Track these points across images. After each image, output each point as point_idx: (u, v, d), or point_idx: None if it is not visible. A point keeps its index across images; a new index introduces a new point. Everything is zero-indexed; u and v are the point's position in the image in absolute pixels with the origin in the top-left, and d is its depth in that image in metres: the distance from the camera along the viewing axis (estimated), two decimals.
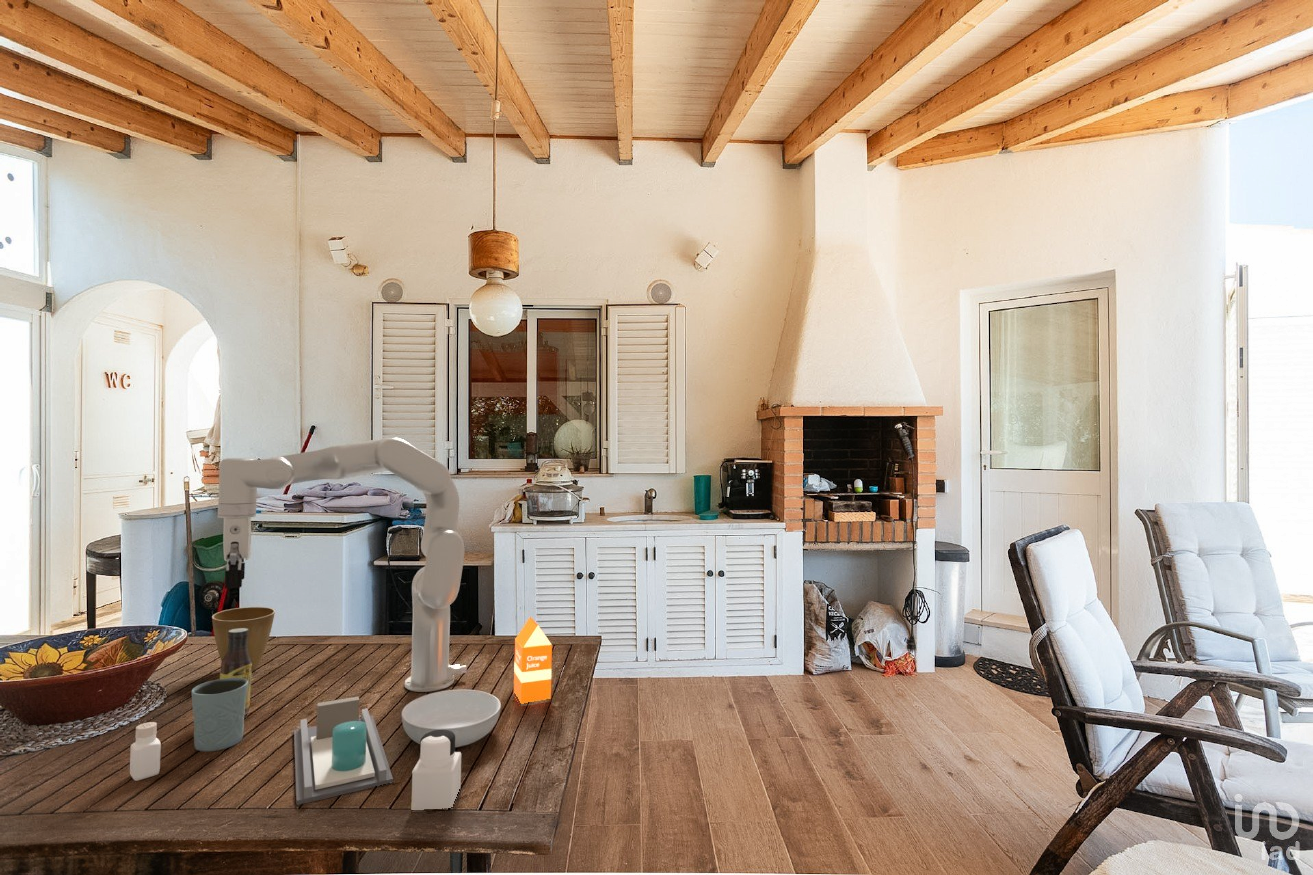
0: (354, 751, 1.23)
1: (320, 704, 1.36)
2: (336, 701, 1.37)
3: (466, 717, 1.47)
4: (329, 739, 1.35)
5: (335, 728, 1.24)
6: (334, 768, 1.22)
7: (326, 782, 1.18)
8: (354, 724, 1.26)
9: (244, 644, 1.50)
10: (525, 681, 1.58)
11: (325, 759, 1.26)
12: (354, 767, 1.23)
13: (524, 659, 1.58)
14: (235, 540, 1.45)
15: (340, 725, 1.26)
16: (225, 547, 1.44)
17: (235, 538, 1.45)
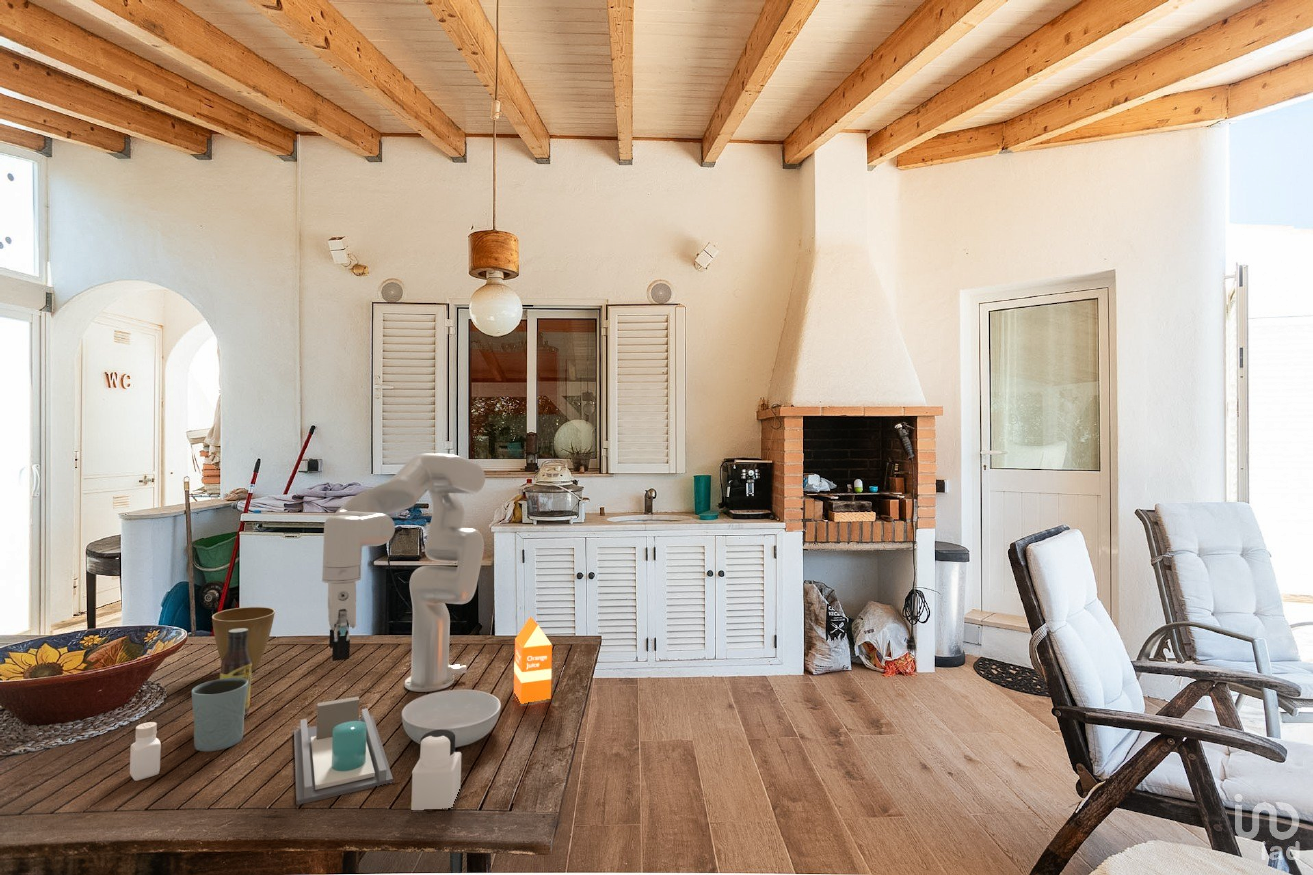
0: (354, 751, 1.23)
1: (320, 704, 1.36)
2: (336, 701, 1.37)
3: (466, 717, 1.47)
4: (329, 739, 1.35)
5: (335, 728, 1.24)
6: (334, 768, 1.22)
7: (326, 782, 1.18)
8: (354, 724, 1.26)
9: (244, 644, 1.50)
10: (525, 681, 1.58)
11: (325, 759, 1.26)
12: (354, 767, 1.23)
13: (525, 659, 1.58)
14: (343, 607, 1.33)
15: (340, 725, 1.26)
16: (333, 615, 1.32)
17: (343, 605, 1.33)
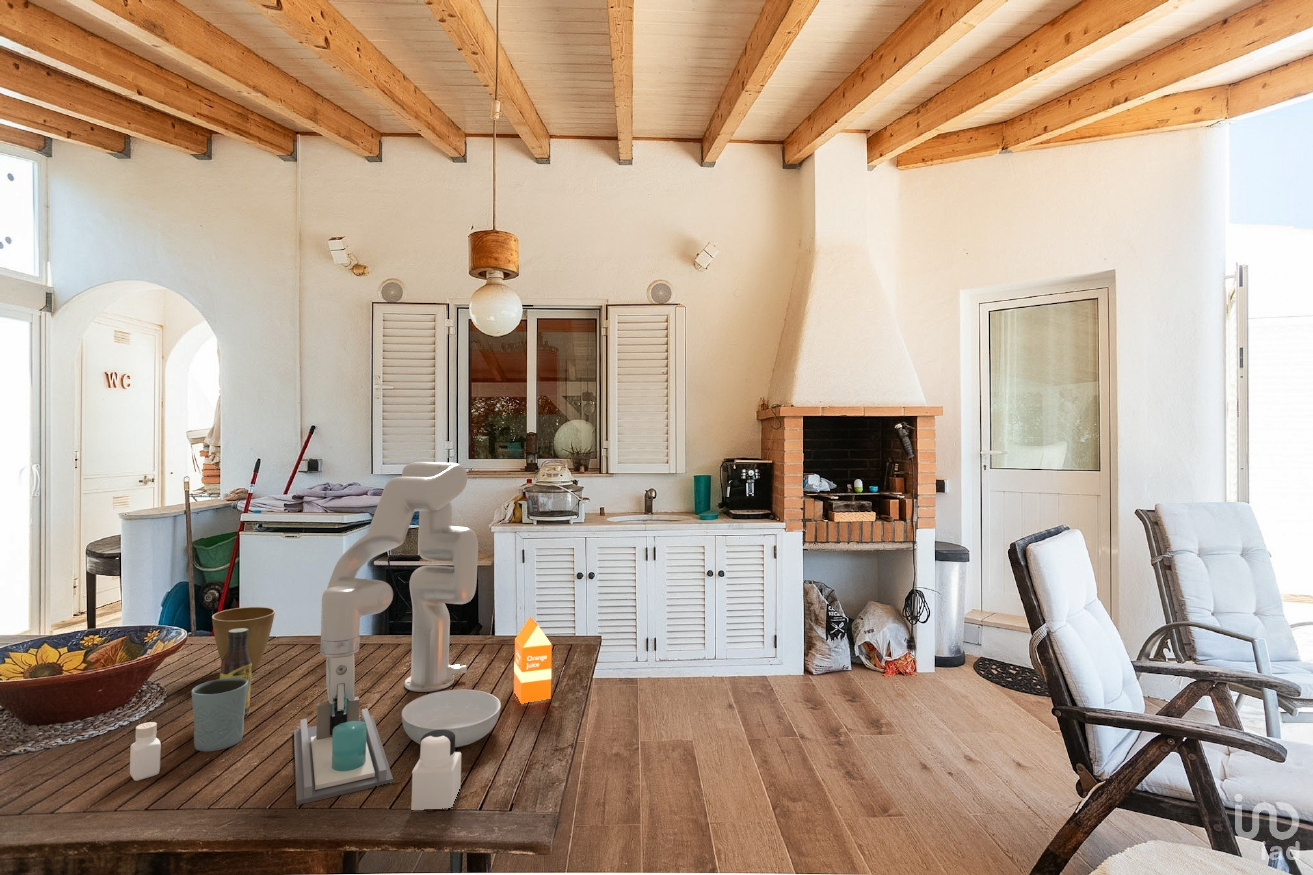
0: (354, 751, 1.23)
1: (320, 704, 1.36)
2: None
3: (466, 717, 1.47)
4: (329, 739, 1.35)
5: (335, 728, 1.24)
6: (334, 768, 1.22)
7: (326, 782, 1.18)
8: (354, 724, 1.26)
9: (244, 644, 1.50)
10: (525, 681, 1.58)
11: (325, 759, 1.26)
12: (354, 767, 1.23)
13: (524, 659, 1.58)
14: (341, 681, 1.33)
15: (340, 725, 1.26)
16: (331, 690, 1.32)
17: (341, 679, 1.33)
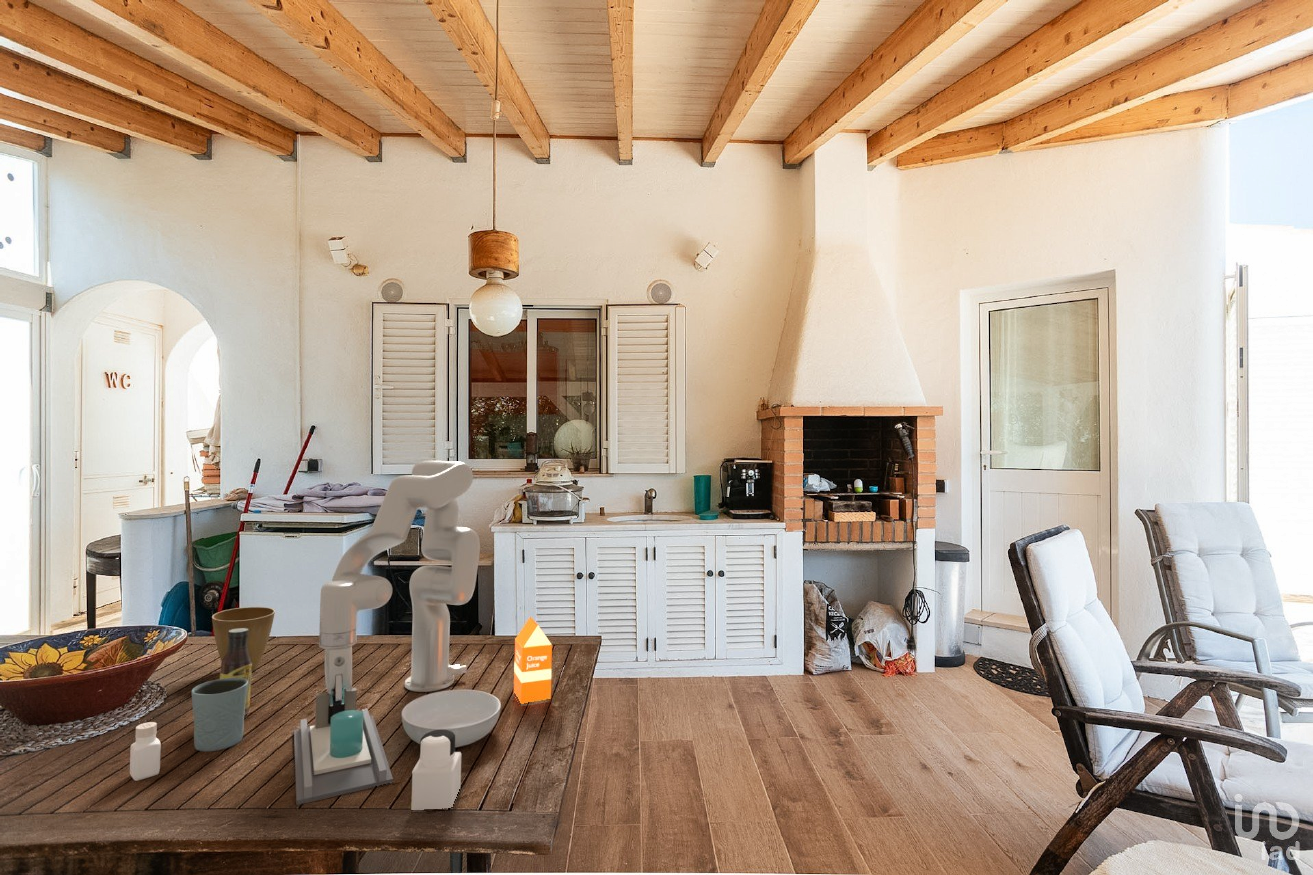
0: (351, 738, 1.28)
1: (319, 694, 1.41)
2: None
3: (466, 717, 1.47)
4: (327, 728, 1.40)
5: (333, 717, 1.29)
6: (332, 755, 1.27)
7: (324, 767, 1.23)
8: (352, 712, 1.32)
9: (244, 644, 1.50)
10: (525, 681, 1.58)
11: (323, 747, 1.31)
12: (351, 754, 1.28)
13: (524, 659, 1.58)
14: (340, 672, 1.38)
15: (338, 714, 1.31)
16: (329, 680, 1.37)
17: (339, 670, 1.38)
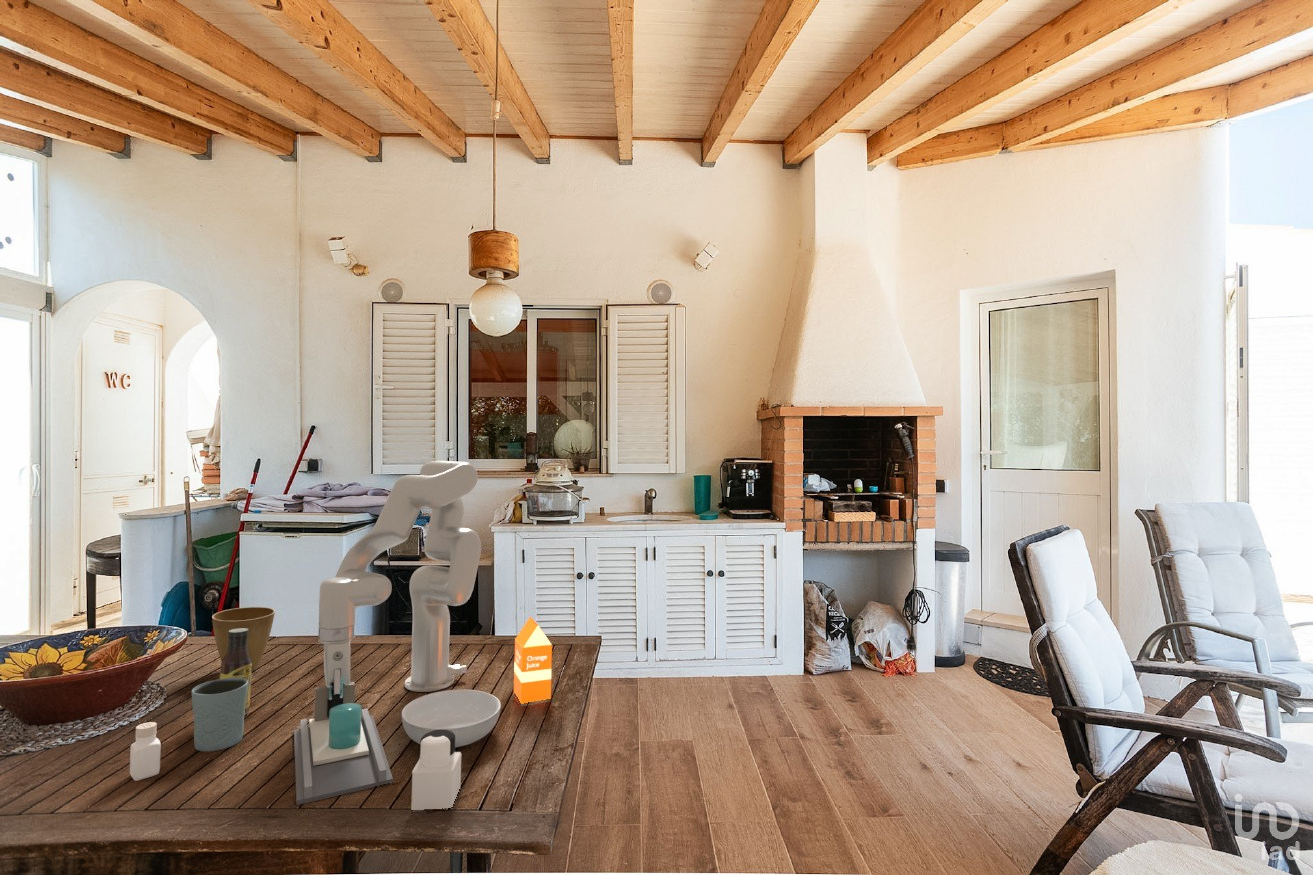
0: (349, 730, 1.31)
1: (318, 688, 1.44)
2: None
3: (466, 717, 1.47)
4: (326, 721, 1.43)
5: (332, 709, 1.33)
6: (331, 746, 1.31)
7: (323, 758, 1.26)
8: (350, 705, 1.35)
9: (244, 644, 1.50)
10: (525, 681, 1.58)
11: (322, 739, 1.35)
12: (349, 745, 1.31)
13: (524, 659, 1.58)
14: (338, 666, 1.42)
15: (336, 707, 1.34)
16: (328, 675, 1.41)
17: (338, 665, 1.42)
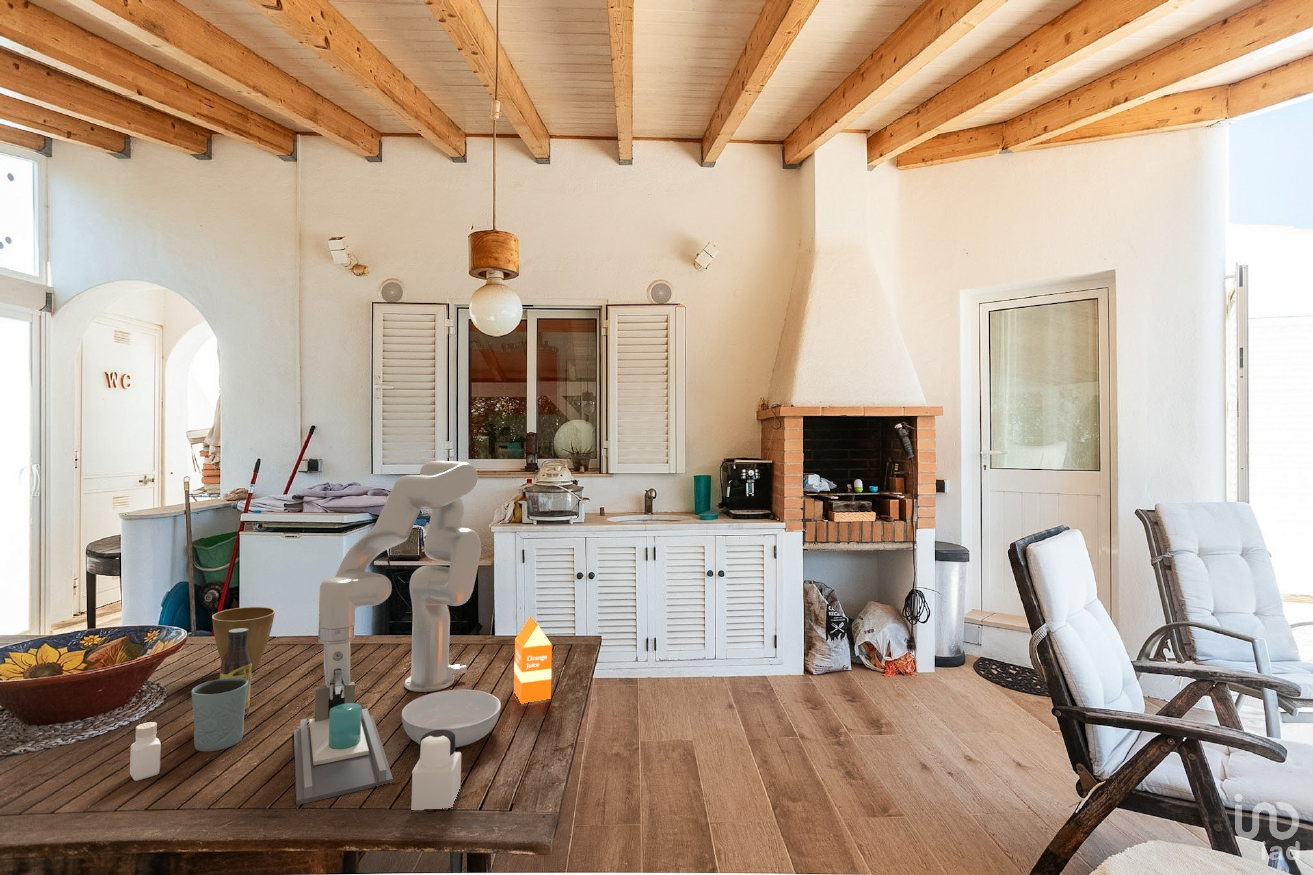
0: (349, 730, 1.31)
1: (318, 688, 1.44)
2: None
3: (466, 717, 1.47)
4: (326, 721, 1.43)
5: (332, 709, 1.33)
6: (331, 746, 1.31)
7: (323, 758, 1.26)
8: (350, 705, 1.35)
9: (244, 644, 1.50)
10: (525, 681, 1.58)
11: (322, 739, 1.35)
12: (349, 745, 1.31)
13: (525, 659, 1.58)
14: (338, 666, 1.42)
15: (336, 707, 1.34)
16: (328, 675, 1.41)
17: (338, 665, 1.42)
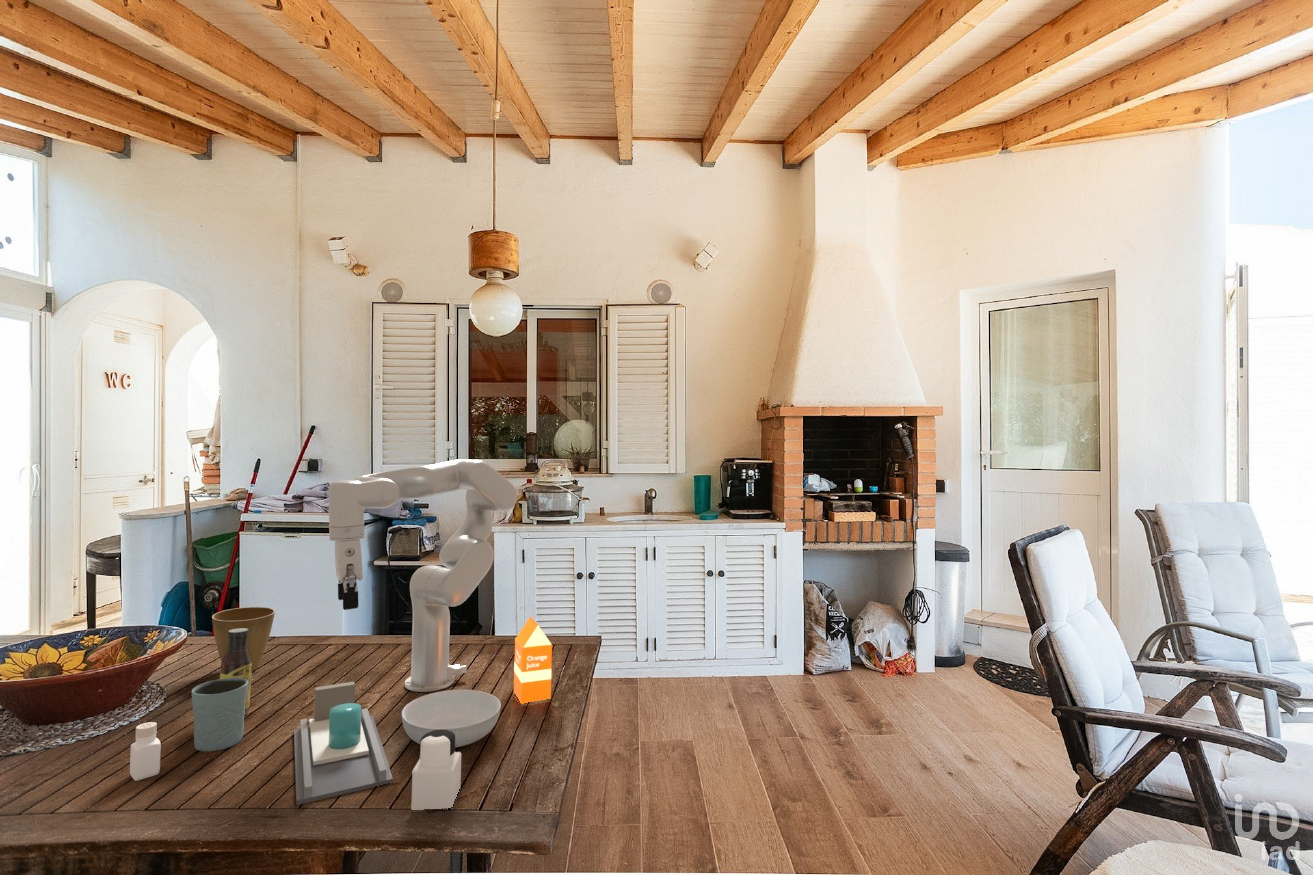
0: (349, 730, 1.31)
1: (318, 688, 1.44)
2: (333, 686, 1.46)
3: (466, 717, 1.47)
4: (326, 721, 1.43)
5: (332, 709, 1.33)
6: (331, 746, 1.31)
7: (323, 758, 1.26)
8: (350, 705, 1.35)
9: (244, 644, 1.50)
10: (525, 681, 1.58)
11: (322, 739, 1.35)
12: (349, 745, 1.31)
13: (524, 659, 1.58)
14: (350, 562, 1.48)
15: (336, 707, 1.34)
16: (341, 569, 1.47)
17: (350, 560, 1.48)
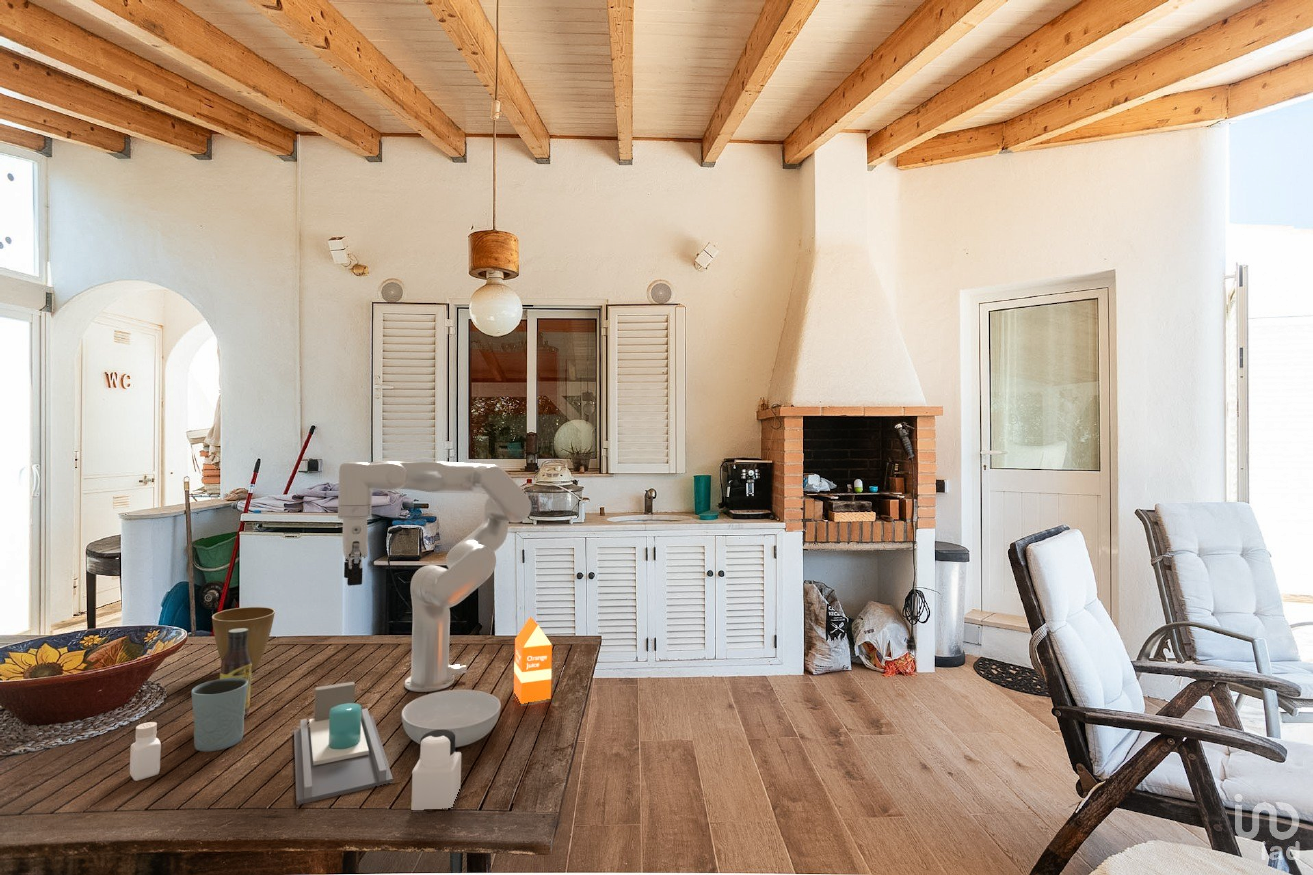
0: (349, 730, 1.31)
1: (318, 688, 1.44)
2: (333, 686, 1.46)
3: (466, 717, 1.47)
4: (326, 721, 1.43)
5: (332, 709, 1.33)
6: (331, 746, 1.31)
7: (323, 758, 1.26)
8: (350, 705, 1.35)
9: (244, 644, 1.50)
10: (525, 681, 1.58)
11: (322, 739, 1.35)
12: (349, 745, 1.31)
13: (524, 659, 1.58)
14: (356, 539, 1.54)
15: (336, 707, 1.34)
16: (347, 546, 1.53)
17: (356, 538, 1.54)
